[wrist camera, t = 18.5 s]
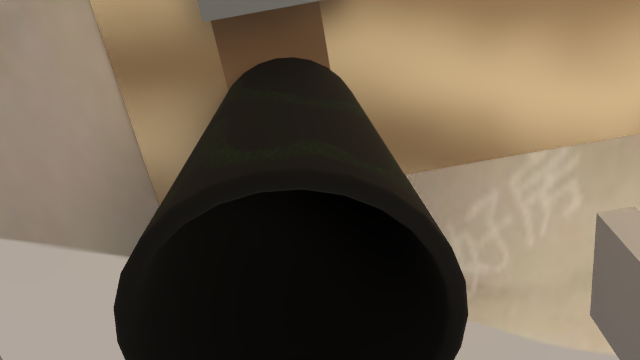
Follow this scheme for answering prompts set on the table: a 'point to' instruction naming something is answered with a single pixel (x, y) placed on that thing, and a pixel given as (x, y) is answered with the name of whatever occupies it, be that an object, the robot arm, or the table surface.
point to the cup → (291, 239)
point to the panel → (390, 71)
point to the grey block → (241, 7)
